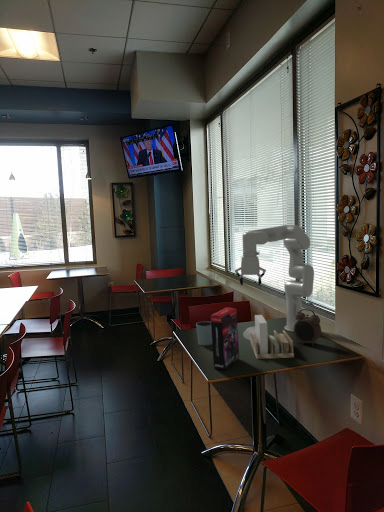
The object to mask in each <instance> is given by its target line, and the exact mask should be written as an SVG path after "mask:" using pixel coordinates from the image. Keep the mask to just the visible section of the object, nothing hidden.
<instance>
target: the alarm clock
mask: <svg viewBox="0 0 384 512" xmlns="http://www.w3.org/2000/svg"><path fill="white" fill-rule="evenodd" d="M301 311H302V313H301ZM301 311H300V312H298V314H296V320H298V321H297V322H296V323H295V325H294V335H295V338H297V339H298V342H297V343H299V344H300V342H301V343H304V344H311V345H312V347H315V346H314V343H315V344H317V342H316V341H317V340H318V339H319V338H320V337H321V335H322V327H321V325H320V323H321V319H320V317H319V314H317V315H316V313H315V312H314V310H312V309H309V308H302V310H301ZM303 311H308V312H312V314H313V315H311V316H310V315H309V314H305V313H304V312H303Z"/></svg>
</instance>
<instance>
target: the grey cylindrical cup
mask: <svg viewBox="0 0 384 512" xmlns="http://www.w3.org/2000/svg"><path fill="white" fill-rule="evenodd" d="M195 326H196V333H197V341H198V342H197V344H198V345H200V346H206V345H207V346H211V345H212V329H211V321H210V320H209V321H208V320H207V321H205V320H203V321H198V322H196V324H195Z"/></svg>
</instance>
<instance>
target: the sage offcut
mask: <svg viewBox="0 0 384 512" xmlns="http://www.w3.org/2000/svg"><path fill="white" fill-rule="evenodd" d="M269 337H270V338H271V340H272V342H273V354H279V344H278V343H277V341H276V340H275V338H274V335H270V334H269Z"/></svg>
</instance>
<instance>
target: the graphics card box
mask: <svg viewBox="0 0 384 512" xmlns="http://www.w3.org/2000/svg"><path fill="white" fill-rule="evenodd" d="M237 310H238V309H237V308H234V307H224V308H222V309H220V310H219V311H217V312H215V313H213V314H211V315H210V322H211V329H212V344H211V345H212V355H213V356H212V357H213V358H212V359H213V368H214V369H217V370H222V371H225V370H227V369H228V368H229V367H231V366H232V365H233V364H234V363H235V362H237V361H238V360H239V359H240V349H239V348H240V347H239V329H238V313H237Z"/></svg>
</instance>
